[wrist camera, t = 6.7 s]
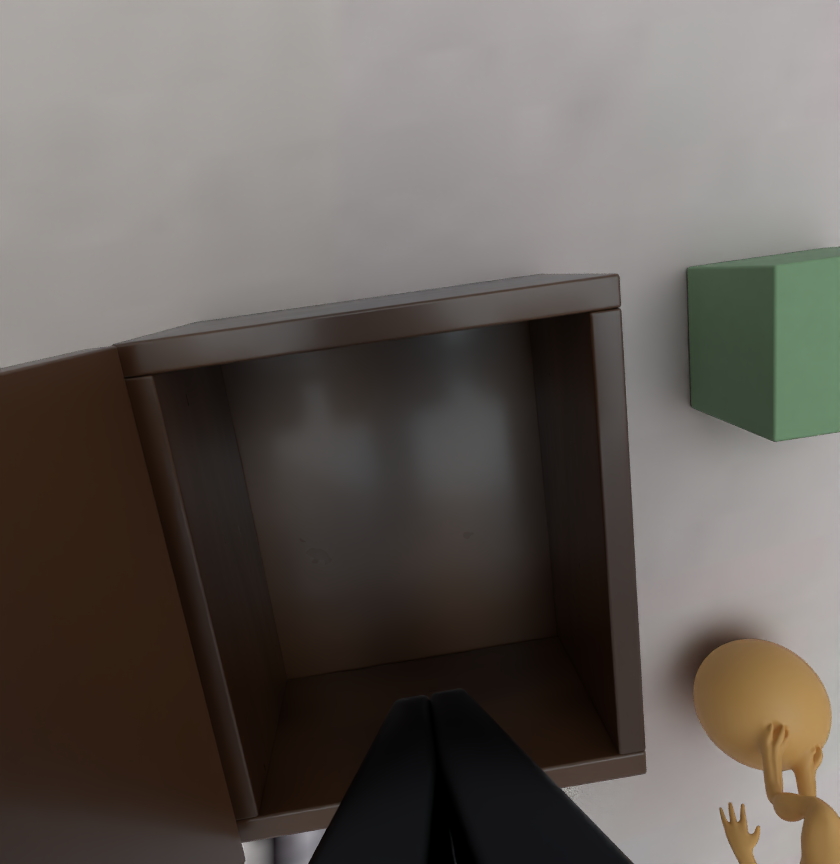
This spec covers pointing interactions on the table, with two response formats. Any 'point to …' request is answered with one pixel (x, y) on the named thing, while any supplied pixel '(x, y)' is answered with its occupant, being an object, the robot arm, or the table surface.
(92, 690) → the lid
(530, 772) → the robot arm
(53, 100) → the table surface
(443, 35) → the table surface
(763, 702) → the figurine
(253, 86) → the table surface
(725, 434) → the table surface
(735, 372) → the block
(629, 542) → the box
